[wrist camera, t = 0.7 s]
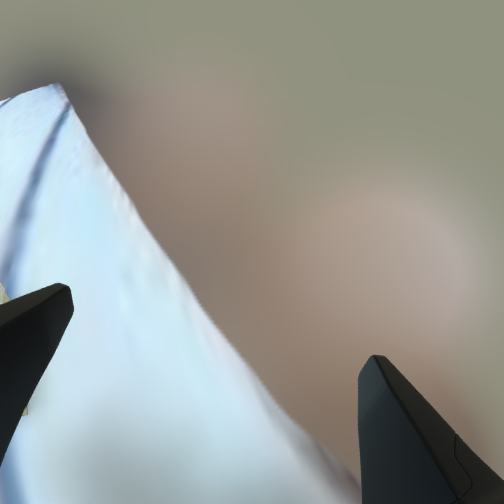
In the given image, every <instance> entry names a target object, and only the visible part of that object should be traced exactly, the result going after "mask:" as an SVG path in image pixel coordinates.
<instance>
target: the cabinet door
mask: <svg viewBox="0 0 504 504" xmlns="http://www.w3.org/2000/svg"><path fill="white" fill-rule="evenodd" d="M3 294H4V287H3V286H2V284H1V282H0V305H1V304H3Z"/></svg>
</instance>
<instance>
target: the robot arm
mask: <svg viewBox="0 0 504 504" xmlns="http://www.w3.org/2000/svg"><path fill="white" fill-rule="evenodd" d="M73 312H74V305H73V300H72V294H71V289H70V287H69V286H67V285H64V284H62V283H55V284H53V285H50V286H47V287H45V288H42V289H39V290H37V291H34V292H31V293H29V294H26V295H24V296H21V297H18V298H16V299H13V300H11V301H8V302H6V303H3V304H1V305H0V467H1V464H2V461H3V459H4V456H5V453H6V451H7V448H8V446H9V443H10V441H11V439H12V436H13V434H14V432H15V430H16V427H17V425H18V423H19V421H20V419H21V416H22V414H23V412H24V410H25V408H26V406H27V404H28V402H29V400H30V398H31V396H32V394H33V392H34V390H35V388H36V386H37V384H38V383H39V381H40V379H41V377H42V375H43V373H44V371H45V370H46V368H47V366H48V364H49V363H50V361H51V359H52V357H53V355H54V353H55V351H56V349H57V347H58V345H59V343H60V341H61V338H62V336H63V334H64V332H65V330H66V328H67V326H68V324H69V322H70V320H71V318H72V315H73ZM358 434H359V448H360V465H361V487H362V504H504V480H502V479H501V478H500V477H499V476H498V475H497V474H496V473H495V472H494V471H493V470H492V469H491V468H490V467H489V466H488V465H487V464H485V463H484V462H483V461H482V460H481V459H480V458H479V457H478V456H477V455H476V454H475V453H474V452H473V451H472V450H471V449H470V448H469V447H468V446H467V444H466V443H465V442H464V441H463V440H462V439H461V438H460V437H459V435H458V434H455V431H454V430H453V429H452V428H451V427H450V426H449V425H448V423H447V422H446V421H445V420H444V419H443V418H442V417H441V416H440V415H439V414H438V412H437V411H436V410H435V409H434V408H433V407H432V406H431V405H430V404H429V403H428V401H426V399H425V398H424V397H423V396H422V395H421V394H420V393H419V392H418V391H417V390H416V389H415V388H414V386H412V384H411V383H410V382H409V381H408V380H407V379H406V378H405V377H404V376H403V375H402V374H401V373H400V371H399V370H398V369H397V368H396V367H395V366H394V365H393V364H392V363H391V362H390V361H389V360H388V359H387V358H386V357H385V356H382V355H372V356H370V358H369V359H368V361H367V363H366V364H365V365H364V367H363V368H362V370H361V372H360V374H359V377H358Z"/></svg>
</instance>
